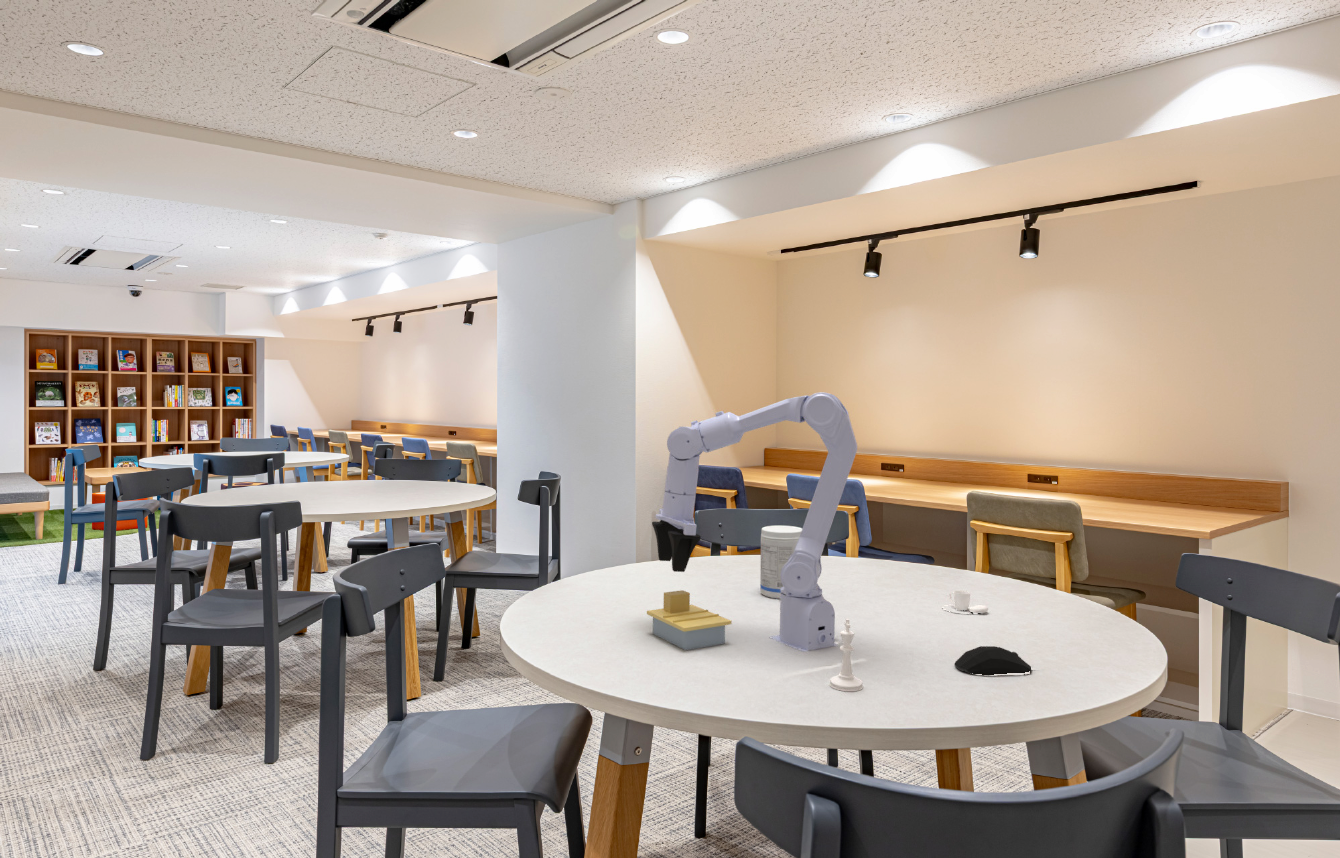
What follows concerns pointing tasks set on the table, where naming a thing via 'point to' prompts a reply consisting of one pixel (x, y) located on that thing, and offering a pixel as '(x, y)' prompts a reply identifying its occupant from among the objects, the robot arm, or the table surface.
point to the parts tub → (689, 635)
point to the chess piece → (846, 665)
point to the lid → (686, 613)
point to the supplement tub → (776, 556)
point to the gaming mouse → (991, 661)
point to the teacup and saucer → (965, 602)
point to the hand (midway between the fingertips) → (671, 565)
